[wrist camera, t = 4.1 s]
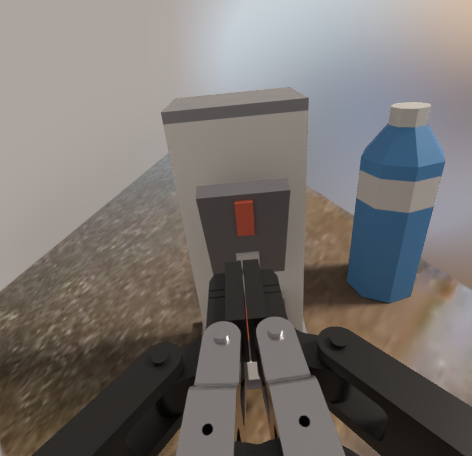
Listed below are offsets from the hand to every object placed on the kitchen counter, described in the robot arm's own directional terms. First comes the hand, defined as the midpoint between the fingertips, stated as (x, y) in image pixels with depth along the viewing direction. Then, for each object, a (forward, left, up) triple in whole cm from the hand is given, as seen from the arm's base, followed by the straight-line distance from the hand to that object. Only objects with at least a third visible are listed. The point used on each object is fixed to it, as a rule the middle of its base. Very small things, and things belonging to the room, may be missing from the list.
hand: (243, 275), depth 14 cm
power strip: (+12, -8, -23) cm, 27 cm away
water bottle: (+11, -30, -23) cm, 39 cm away
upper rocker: (+9, -5, -7) cm, 13 cm away
